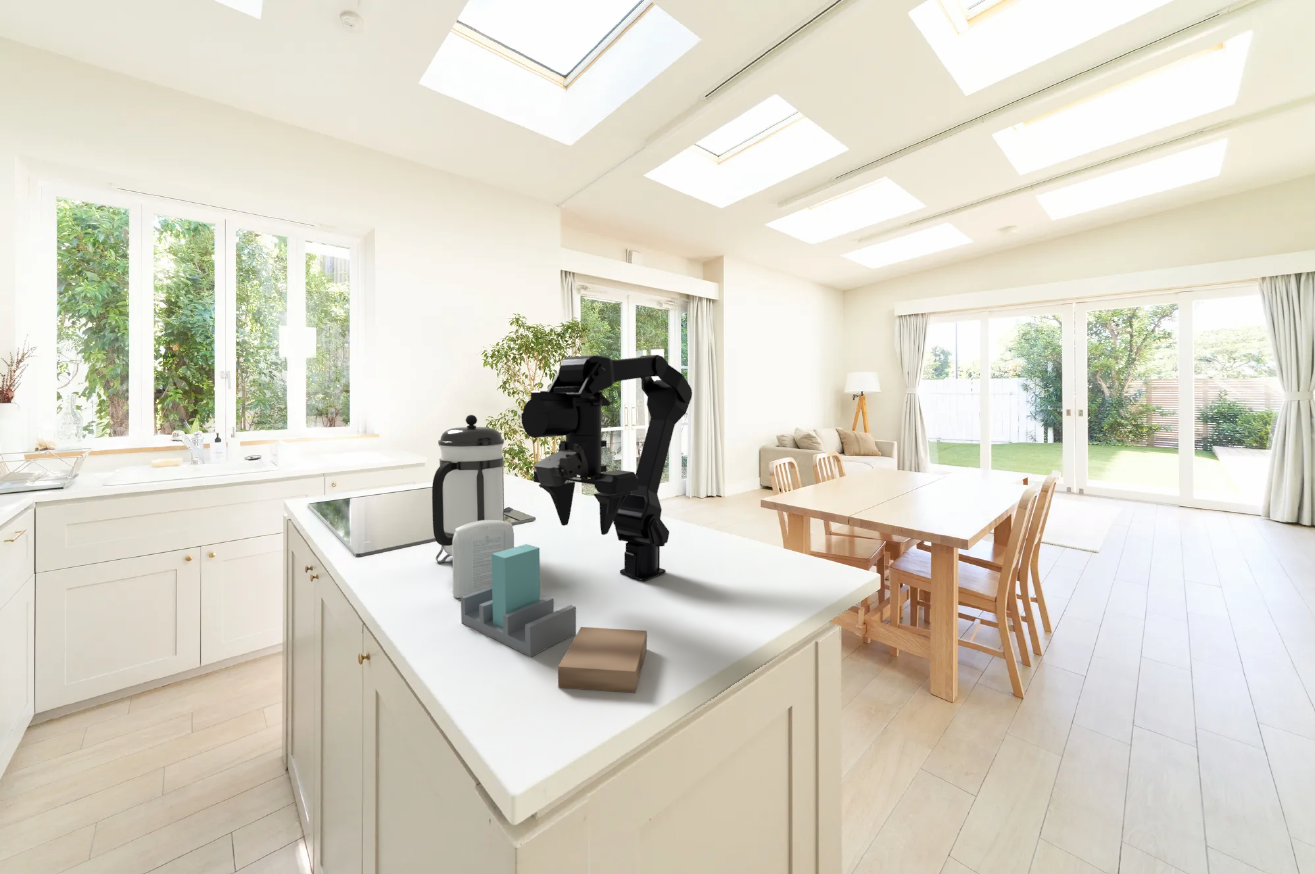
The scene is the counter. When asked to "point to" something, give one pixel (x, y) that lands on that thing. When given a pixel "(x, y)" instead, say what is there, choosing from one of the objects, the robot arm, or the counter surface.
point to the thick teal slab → (514, 580)
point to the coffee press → (467, 481)
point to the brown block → (603, 660)
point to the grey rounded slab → (478, 553)
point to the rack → (520, 622)
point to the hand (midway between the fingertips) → (583, 529)
